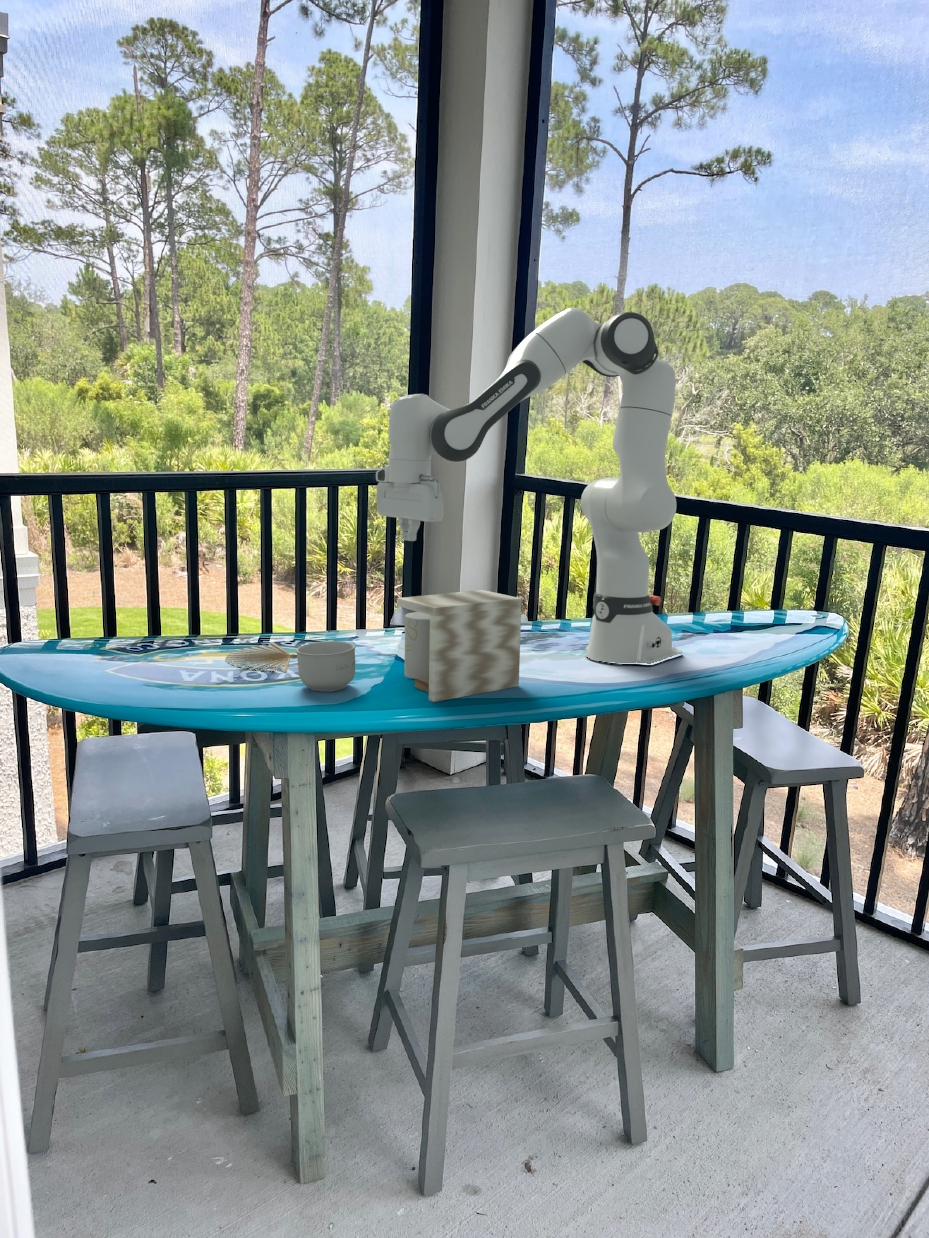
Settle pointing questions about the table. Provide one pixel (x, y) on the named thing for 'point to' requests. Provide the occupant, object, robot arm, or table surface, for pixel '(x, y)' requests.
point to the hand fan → (261, 657)
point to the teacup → (326, 665)
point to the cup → (417, 645)
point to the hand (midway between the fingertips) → (409, 540)
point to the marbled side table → (469, 642)
